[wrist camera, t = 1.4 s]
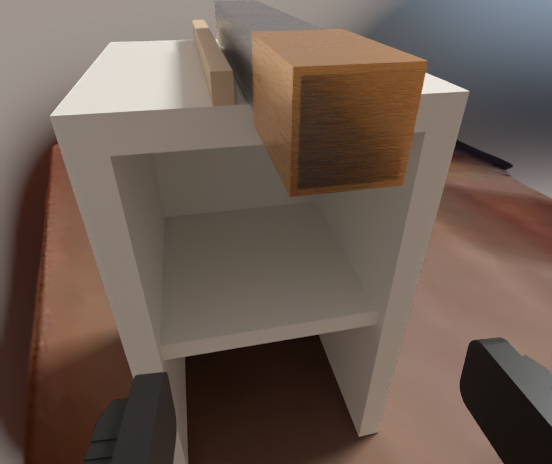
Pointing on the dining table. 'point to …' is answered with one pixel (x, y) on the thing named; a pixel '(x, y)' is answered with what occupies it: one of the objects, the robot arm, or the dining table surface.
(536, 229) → the dining table surface
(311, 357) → the dining table surface
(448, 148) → the tall white box
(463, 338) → the dining table surface
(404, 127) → the brown grained square bar
